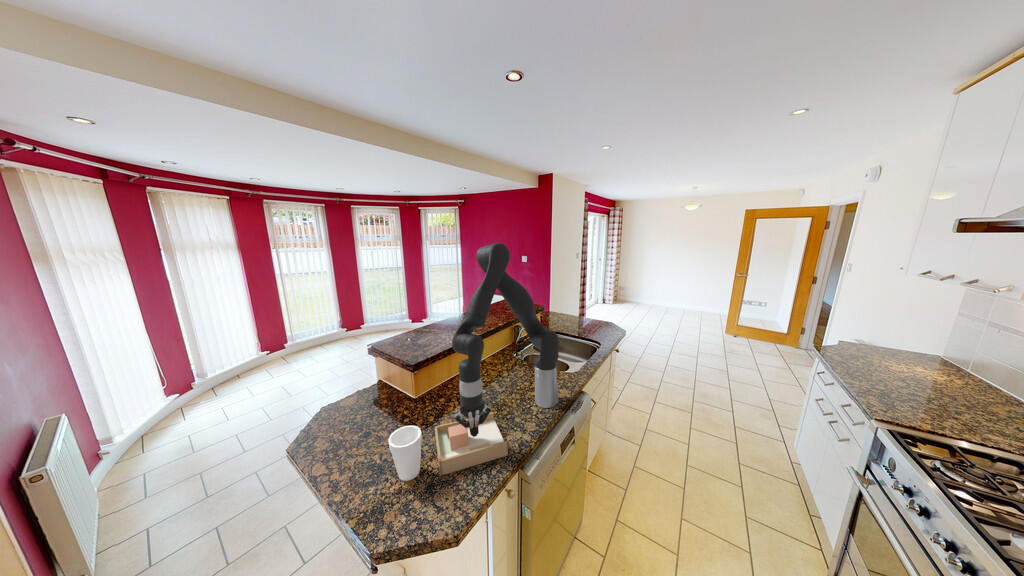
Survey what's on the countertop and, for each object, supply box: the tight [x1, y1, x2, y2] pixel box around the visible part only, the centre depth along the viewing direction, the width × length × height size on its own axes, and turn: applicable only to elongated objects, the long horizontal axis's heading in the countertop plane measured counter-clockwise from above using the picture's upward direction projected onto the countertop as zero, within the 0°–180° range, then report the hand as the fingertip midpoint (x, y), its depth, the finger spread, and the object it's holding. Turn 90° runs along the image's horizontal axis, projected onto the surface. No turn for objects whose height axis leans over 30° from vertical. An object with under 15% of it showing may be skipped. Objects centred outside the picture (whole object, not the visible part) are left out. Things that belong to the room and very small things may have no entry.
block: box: [448, 424, 469, 450], centre depth 95 cm, size 6×5×5 cm
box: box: [434, 411, 509, 477], centre depth 97 cm, size 22×17×5 cm
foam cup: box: [387, 425, 423, 482], centre depth 86 cm, size 10×9×13 cm
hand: (474, 435), depth 97 cm, fingers closed
